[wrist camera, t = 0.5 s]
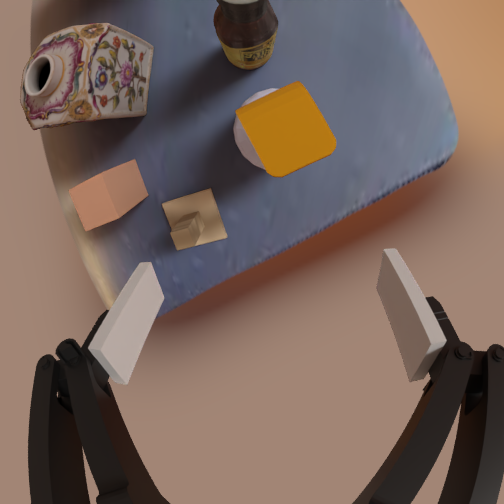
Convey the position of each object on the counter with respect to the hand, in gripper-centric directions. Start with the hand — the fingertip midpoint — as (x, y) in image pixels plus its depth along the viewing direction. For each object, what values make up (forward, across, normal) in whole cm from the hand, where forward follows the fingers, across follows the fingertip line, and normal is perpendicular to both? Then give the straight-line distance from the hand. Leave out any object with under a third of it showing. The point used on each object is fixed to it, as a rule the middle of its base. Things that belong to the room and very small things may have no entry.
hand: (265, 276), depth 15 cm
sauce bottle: (+28, -1, +17) cm, 32 cm away
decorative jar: (+27, -21, +16) cm, 38 cm away
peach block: (+25, -23, 0) cm, 34 cm away
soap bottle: (+27, +1, +5) cm, 27 cm away
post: (+25, -12, -8) cm, 29 cm away
